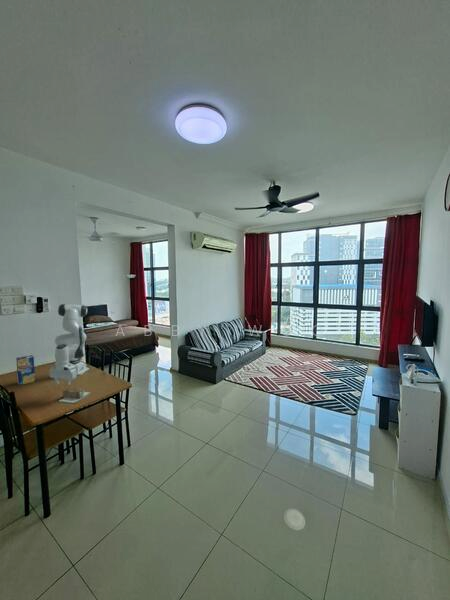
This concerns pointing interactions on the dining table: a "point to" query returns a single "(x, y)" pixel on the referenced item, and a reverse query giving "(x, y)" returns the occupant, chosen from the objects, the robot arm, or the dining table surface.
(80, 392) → the block
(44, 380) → the dining table surface
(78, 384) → the dining table surface
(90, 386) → the dining table surface
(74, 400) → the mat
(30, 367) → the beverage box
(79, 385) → the dining table surface
